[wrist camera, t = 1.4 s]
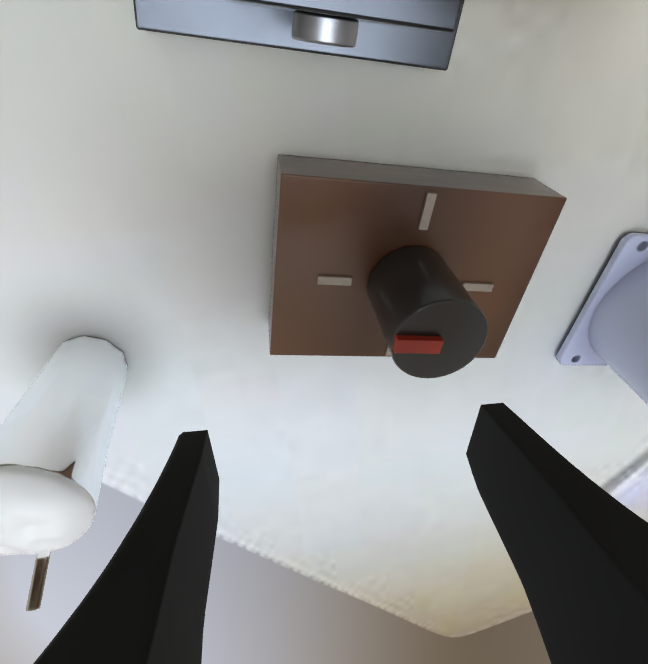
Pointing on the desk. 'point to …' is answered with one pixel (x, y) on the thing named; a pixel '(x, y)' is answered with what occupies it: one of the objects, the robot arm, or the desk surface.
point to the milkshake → (58, 452)
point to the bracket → (318, 26)
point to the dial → (425, 313)
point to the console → (395, 245)
